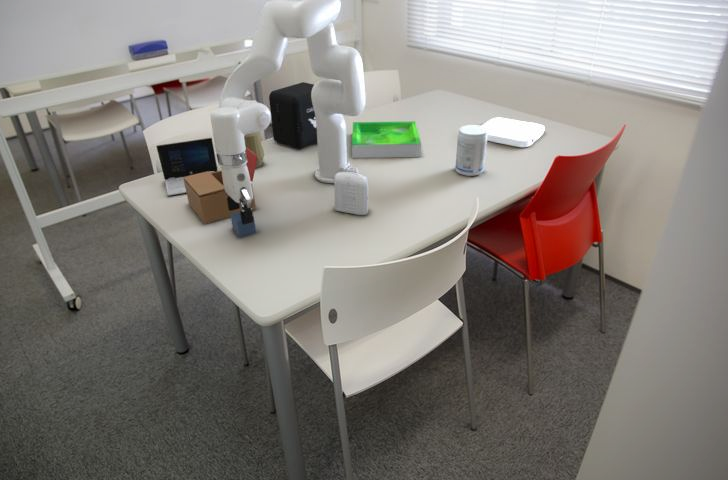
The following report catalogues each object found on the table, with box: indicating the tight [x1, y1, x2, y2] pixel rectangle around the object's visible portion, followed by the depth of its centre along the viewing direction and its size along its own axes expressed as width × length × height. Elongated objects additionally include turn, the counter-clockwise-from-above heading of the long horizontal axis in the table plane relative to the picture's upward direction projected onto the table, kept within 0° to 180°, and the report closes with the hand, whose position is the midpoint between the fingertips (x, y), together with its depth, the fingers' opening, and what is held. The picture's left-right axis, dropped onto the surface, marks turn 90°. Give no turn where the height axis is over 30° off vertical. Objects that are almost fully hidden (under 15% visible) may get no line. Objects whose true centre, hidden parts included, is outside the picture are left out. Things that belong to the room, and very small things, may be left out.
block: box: [230, 212, 257, 238], centre depth 143 cm, size 5×5×5 cm
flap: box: [246, 147, 258, 183], centre depth 154 cm, size 8×15×1 cm
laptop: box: [156, 137, 219, 196], centre depth 167 cm, size 18×12×13 cm
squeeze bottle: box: [244, 132, 265, 169], centre depth 178 cm, size 8×8×18 cm
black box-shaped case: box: [268, 81, 318, 150], centre depth 197 cm, size 20×15×20 cm
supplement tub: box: [454, 124, 488, 177], centre depth 171 cm, size 10×10×15 cm
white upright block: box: [333, 172, 369, 216], centre depth 149 cm, size 10×4×12 cm, turn 69°
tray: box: [351, 120, 422, 159], centre depth 196 cm, size 25×25×5 cm
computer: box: [481, 116, 546, 148], centre depth 202 cm, size 22×22×3 cm
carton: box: [182, 170, 257, 225], centre depth 154 cm, size 16×15×9 cm
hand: (240, 216), depth 141 cm, fingers open, 9 cm apart
